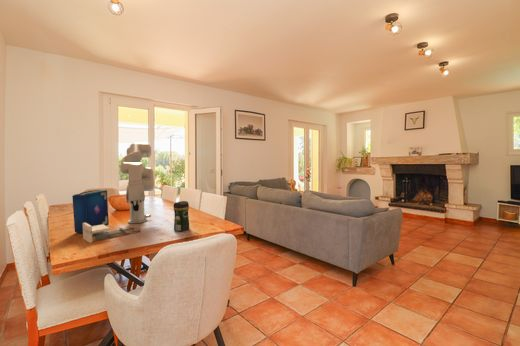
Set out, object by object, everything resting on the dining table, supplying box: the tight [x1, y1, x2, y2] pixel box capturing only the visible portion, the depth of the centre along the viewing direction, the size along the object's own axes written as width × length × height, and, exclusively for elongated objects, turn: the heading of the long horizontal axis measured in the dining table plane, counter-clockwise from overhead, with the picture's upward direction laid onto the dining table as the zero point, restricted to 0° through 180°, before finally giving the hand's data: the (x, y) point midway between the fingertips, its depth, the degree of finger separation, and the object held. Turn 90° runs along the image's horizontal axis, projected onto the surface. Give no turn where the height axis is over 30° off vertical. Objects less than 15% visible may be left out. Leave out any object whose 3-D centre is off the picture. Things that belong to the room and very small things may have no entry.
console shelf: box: [82, 223, 111, 244], centre depth 147 cm, size 10×12×9 cm
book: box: [71, 189, 110, 234], centre depth 166 cm, size 22×7×25 cm, turn 168°
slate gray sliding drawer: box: [92, 227, 126, 241], centre depth 152 cm, size 16×7×3 cm, turn 136°
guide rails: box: [108, 226, 142, 239], centre depth 158 cm, size 18×10×1 cm, turn 138°
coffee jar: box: [173, 200, 190, 232], centre depth 165 cm, size 10×8×19 cm
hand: (136, 210), depth 166 cm, fingers closed
